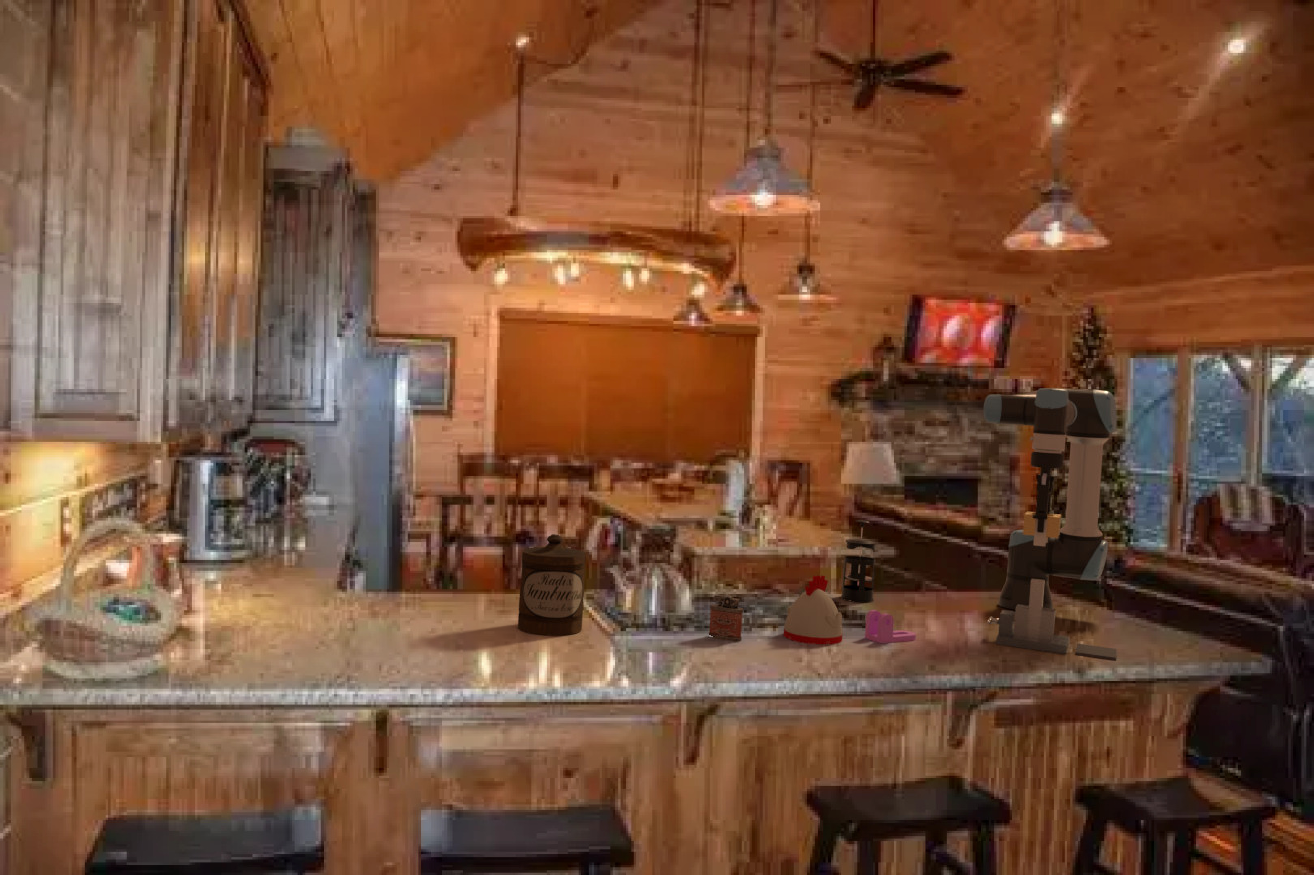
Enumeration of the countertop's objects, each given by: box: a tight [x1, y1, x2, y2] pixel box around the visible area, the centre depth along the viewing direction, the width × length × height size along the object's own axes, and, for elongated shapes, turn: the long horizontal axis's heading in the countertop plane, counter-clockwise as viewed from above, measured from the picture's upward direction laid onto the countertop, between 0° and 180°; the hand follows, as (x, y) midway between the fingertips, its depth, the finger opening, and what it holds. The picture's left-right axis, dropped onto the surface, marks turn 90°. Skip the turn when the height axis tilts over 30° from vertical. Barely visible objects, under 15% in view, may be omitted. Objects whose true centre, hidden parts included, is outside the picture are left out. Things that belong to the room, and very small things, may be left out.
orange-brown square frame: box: [1022, 511, 1062, 538], centre depth 268 cm, size 8×8×5 cm
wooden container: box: [517, 533, 586, 637], centre depth 253 cm, size 15×15×22 cm
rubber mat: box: [1075, 643, 1117, 661], centre depth 264 cm, size 11×9×1 cm
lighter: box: [708, 594, 744, 643], centre depth 254 cm, size 8×3×10 cm, turn 65°
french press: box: [840, 519, 878, 603], centre depth 317 cm, size 12×9×23 cm
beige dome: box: [783, 575, 843, 646], centre depth 261 cm, size 14×14×15 cm
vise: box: [986, 579, 1070, 655], centre depth 270 cm, size 12×19×16 cm, turn 67°
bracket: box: [864, 609, 917, 644], centre depth 266 cm, size 13×6×7 cm, turn 121°
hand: (1040, 543), depth 269 cm, fingers closed on orange-brown square frame, 8 cm apart
